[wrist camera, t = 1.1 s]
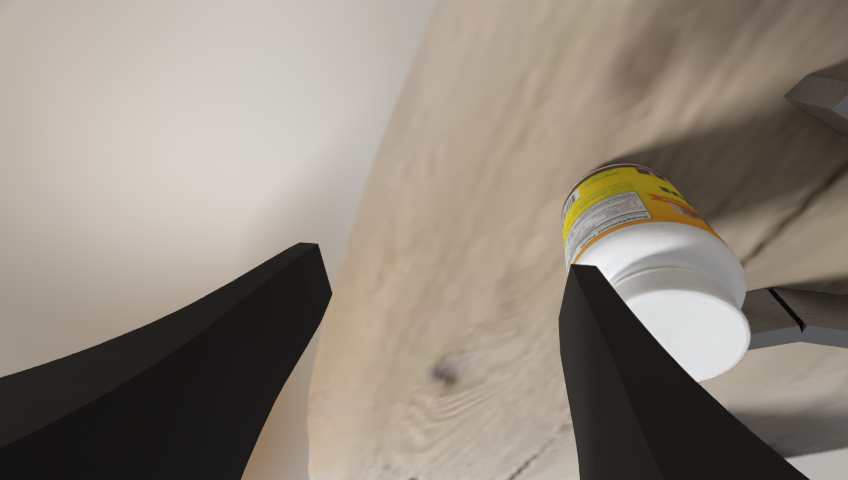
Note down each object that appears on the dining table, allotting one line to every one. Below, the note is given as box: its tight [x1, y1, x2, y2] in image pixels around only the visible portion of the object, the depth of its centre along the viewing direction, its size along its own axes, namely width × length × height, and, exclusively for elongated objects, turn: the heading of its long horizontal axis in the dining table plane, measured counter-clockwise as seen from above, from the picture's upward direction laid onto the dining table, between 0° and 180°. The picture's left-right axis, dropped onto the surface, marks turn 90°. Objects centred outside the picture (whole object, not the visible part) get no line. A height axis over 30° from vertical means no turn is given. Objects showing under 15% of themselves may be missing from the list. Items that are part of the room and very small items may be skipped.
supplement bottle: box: [562, 164, 751, 382], centre depth 15 cm, size 6×6×10 cm
